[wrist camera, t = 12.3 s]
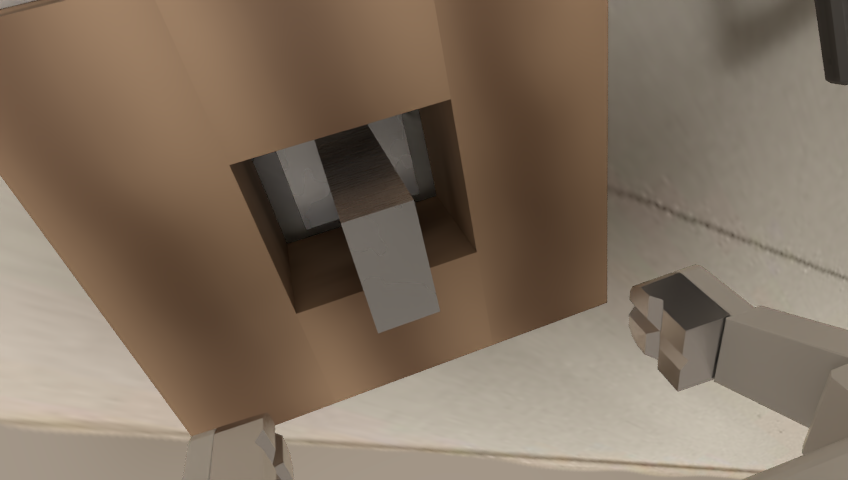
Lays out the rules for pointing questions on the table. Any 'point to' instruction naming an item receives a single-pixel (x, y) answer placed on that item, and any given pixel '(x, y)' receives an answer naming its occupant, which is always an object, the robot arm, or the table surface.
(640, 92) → the table surface
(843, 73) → the zipper pull
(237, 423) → the robot arm
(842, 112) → the table surface
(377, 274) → the steel bracket
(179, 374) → the walnut well
